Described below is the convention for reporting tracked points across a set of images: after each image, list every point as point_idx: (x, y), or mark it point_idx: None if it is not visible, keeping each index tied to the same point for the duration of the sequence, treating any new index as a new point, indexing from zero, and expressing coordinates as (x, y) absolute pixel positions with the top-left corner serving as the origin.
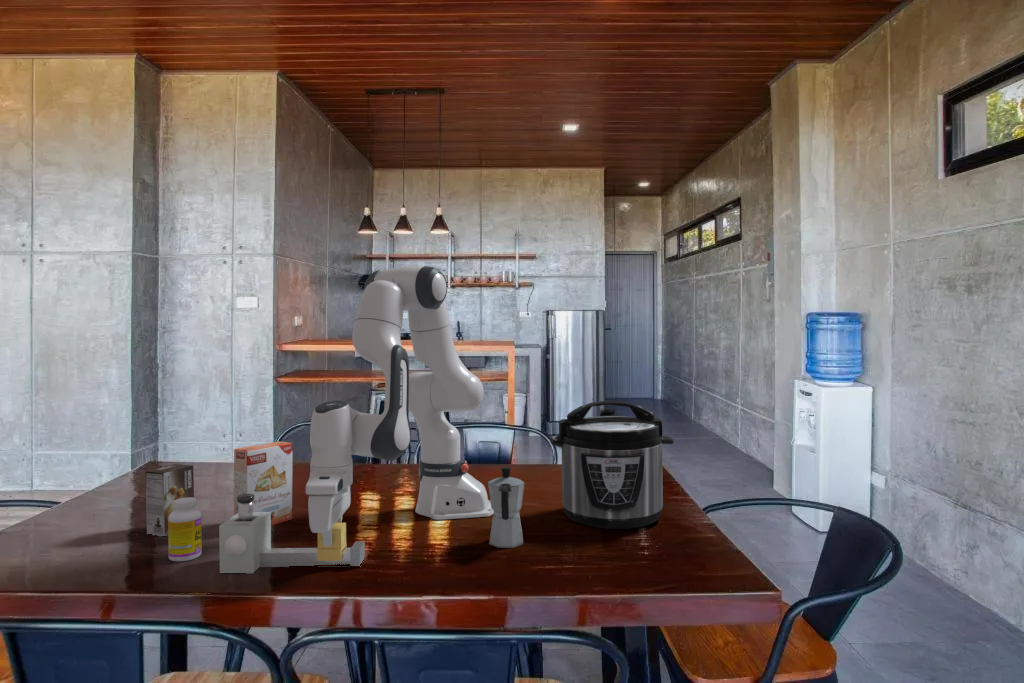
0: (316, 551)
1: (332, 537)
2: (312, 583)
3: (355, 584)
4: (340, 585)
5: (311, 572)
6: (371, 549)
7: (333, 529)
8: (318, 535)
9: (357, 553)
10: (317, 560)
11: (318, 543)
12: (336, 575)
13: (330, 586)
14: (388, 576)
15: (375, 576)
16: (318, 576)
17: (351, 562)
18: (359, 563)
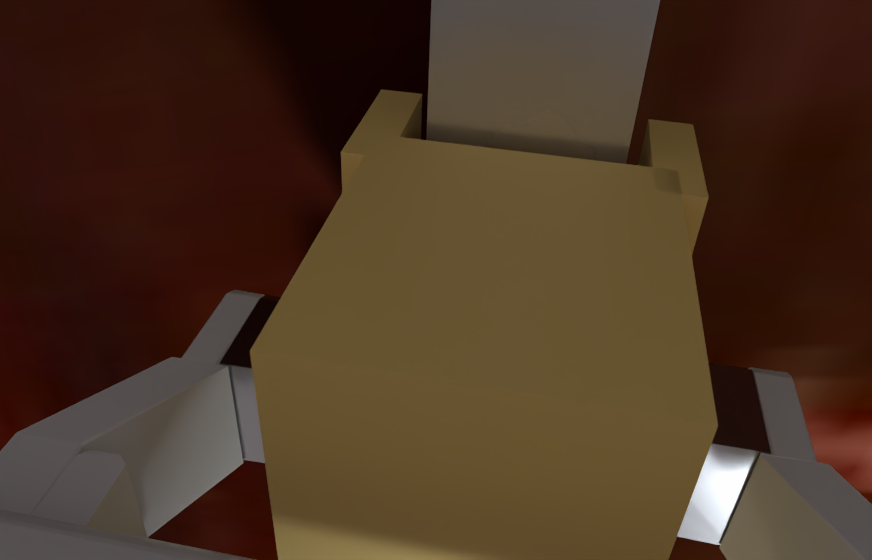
0: (477, 95)
1: (262, 451)
2: (30, 78)
3: (92, 380)
4: (52, 295)
5: (289, 13)
6: (865, 486)
7: (282, 551)
8: (295, 286)
9: None
10: (382, 94)
11: (344, 208)
12: (234, 254)
13: (16, 231)
14: (249, 535)
15: (242, 480)
16: (193, 106)
17: None
18: None
